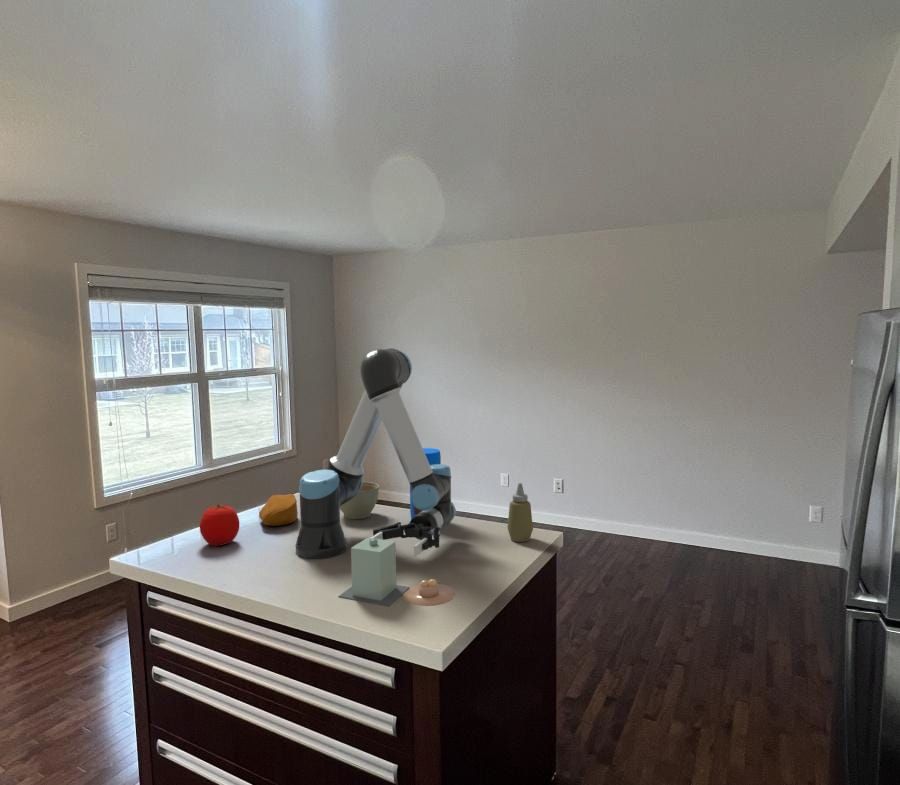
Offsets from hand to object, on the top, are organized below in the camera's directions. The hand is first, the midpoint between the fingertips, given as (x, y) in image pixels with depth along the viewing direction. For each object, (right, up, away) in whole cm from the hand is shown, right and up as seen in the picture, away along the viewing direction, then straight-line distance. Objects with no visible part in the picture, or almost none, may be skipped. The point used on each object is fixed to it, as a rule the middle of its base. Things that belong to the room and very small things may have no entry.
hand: (391, 547), depth 153 cm
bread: (-46, -5, +52) cm, 70 cm away
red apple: (-57, -7, +30) cm, 65 cm away
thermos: (+7, -5, +51) cm, 52 cm away
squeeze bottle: (+38, -6, +31) cm, 49 cm away
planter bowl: (-18, -4, +58) cm, 61 cm away
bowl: (+10, -10, -9) cm, 17 cm away
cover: (-4, -9, -8) cm, 12 cm away
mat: (-3, -10, -8) cm, 13 cm away
